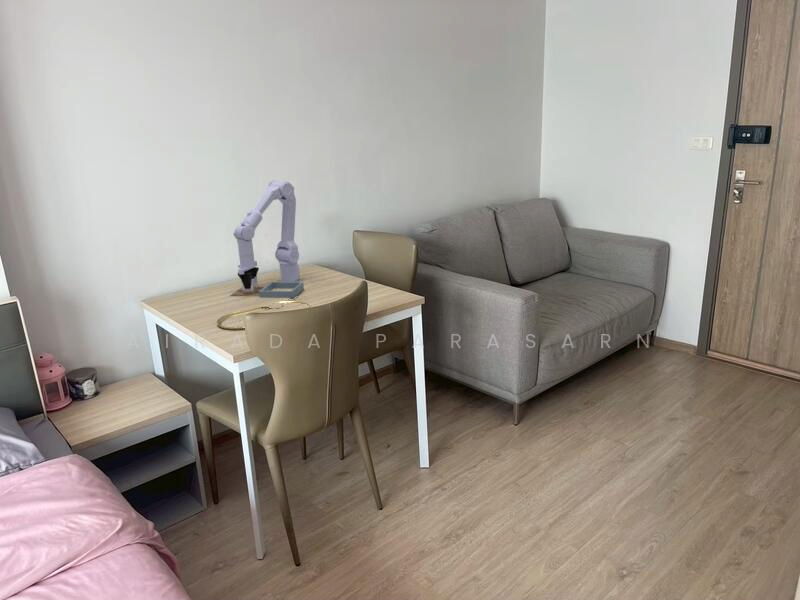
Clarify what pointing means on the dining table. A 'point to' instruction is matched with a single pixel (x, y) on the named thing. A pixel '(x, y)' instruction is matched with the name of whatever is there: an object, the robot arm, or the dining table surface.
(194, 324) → the dining table surface
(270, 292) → the bin
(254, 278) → the metal block
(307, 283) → the dining table surface
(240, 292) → the stud base
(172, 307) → the dining table surface
